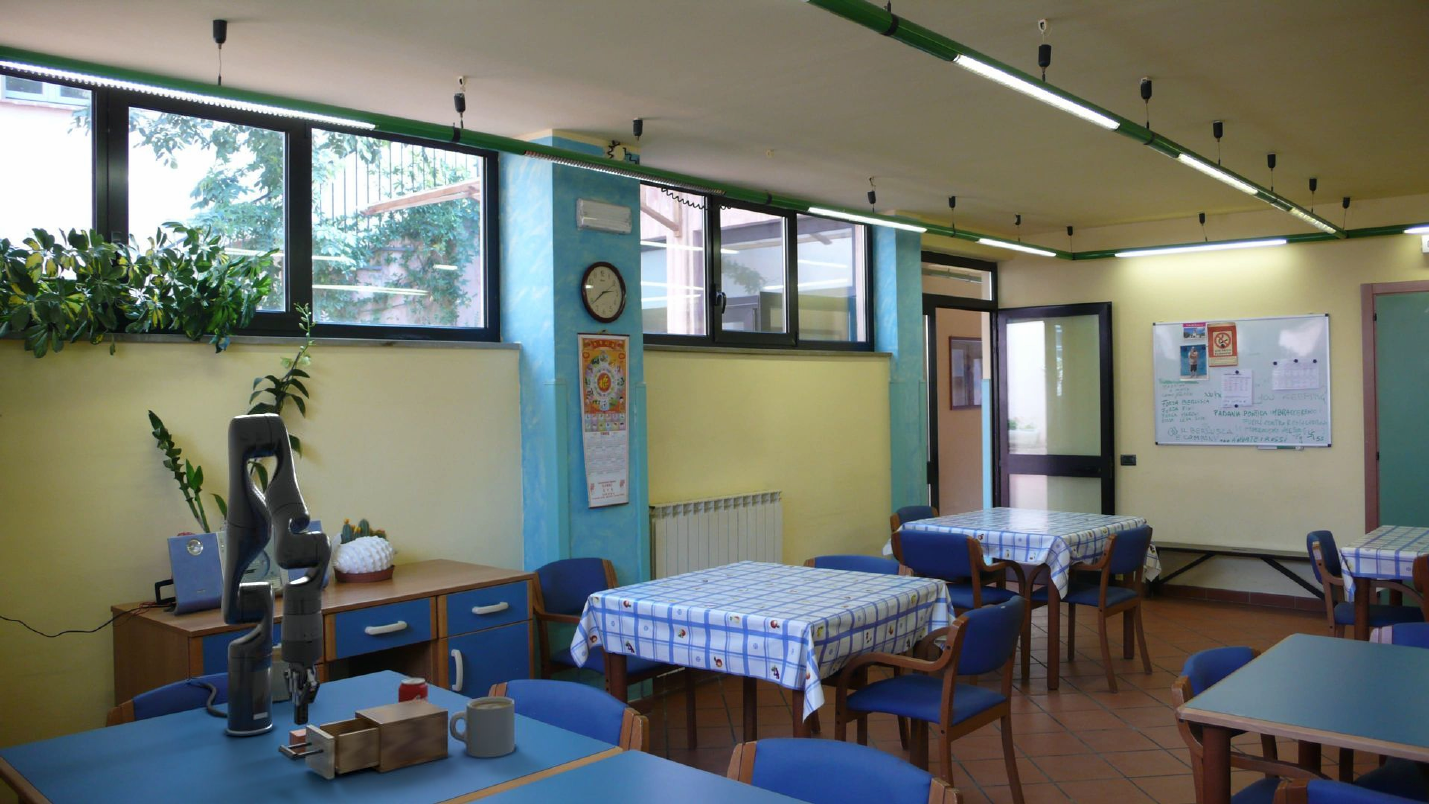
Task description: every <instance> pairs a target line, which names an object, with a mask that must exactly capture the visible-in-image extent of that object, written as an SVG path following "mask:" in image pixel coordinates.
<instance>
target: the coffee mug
mask: <svg viewBox="0 0 1429 804" xmlns="http://www.w3.org/2000/svg"><path fill="white" fill-rule="evenodd" d="M459 720H463V721H464V723H465V728H464V731H463V732H458V730H457V728H456V727H457V726H456V725H457V722H458V721H459ZM448 729H449V733H450V735H451V737H452V738H453V739H455V740H457V741H459V742H462V743H463V744H464V745H465V748H466V754H467V755H469V756H471V757H475V758H497V757H503V756H506V755H509V754H511V753H512V752H514V751H515V700H514V699H513V698H510V697H507V696H483V697H478V698H474V699H471V700H469V701H468V702H467V703H466V710H461V711H457V712H454V713H453V715H452V716H451V717H450V720H449V726H448Z"/></svg>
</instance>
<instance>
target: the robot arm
mask: <svg viewBox="0 0 1429 804" xmlns="http://www.w3.org/2000/svg"><path fill="white" fill-rule="evenodd" d="M227 453H228V454H227V455H228V456H227V457H228V495H227V496H228V497H227V511H226V525H225V526H226V527H225V567H224V568H225V569H224V577H223V586H222V595H221V604H220V605H221V607H220V609H221V610H220V611H221V618H222V620H223V622H224V624H226V625H228V626H244V625H245V626H246V625H255V624H256V627H255V628H254V629H253V630H252V631H251V632H249V633H248V634H245V635H244V636H241V637H239V638H237V639H234V640H232V641H231V642H230V643H229V644H228V648H227V713H226V712H223V711H220V710H217V709H216V708H213V707H212V702H213V700H215V697H216V694H217V688H216V687H215V686H214V685H212V684H211V683H208V682H207V683H208V684H204V683H200V682H197V684H200V685H202V686H204V687H206V688H209V689H210V690H211V691H212V692H211V694H210V696H209V698H208V699H207V701H206V709H207V711H209V712H210V713H212V714H213V715H215V716H218V717H221V718H227V719H226V720H227V721H226V722H227V723H226V726H227V727H226V734H227V735H229V736H233V737H250V736H257V735H262V734H265V733H268V732H270V731H271V730H273V701H272V683H273V648H274V617H275V604H276V602H275V600H276V595H275V588H274V586H273V584H272V583H271V582H270V581H256V582H255V581H253V582H242V580H243V578H244V575H245V573H246V572H247V570H248V569H249V567H250V566H251V565H252V564H253V562H254V561H255V560H256V559H257V558H258V557H259V555H261V553H262V552H263V551H264V549H266V547H267V546H268V545H269V543H270V541H271V539H272V537H273V559H274V562H275V564H276V565H277V566H278V567H279V568H281V569H283V570H285V571H291V570H293V571H294V570H302V569H306V571H305V573H304V575H303V576H302V577H300V578H298V579H295V580H291V581H290V582H287V583H286V584H285V585H284V586H283V590H282V619H281V623H280V624H281V627H280V630H281V631H280V632H281V633H280V648H281V659H282V661H284V662H288V663H289V670H288V671H284V679H285V683H286V687H287V691H288V695H289V699H288V700H291V702H292V705H293V724H294V725H296V726H304V725H307V724H308V723H309V705H310V704H314V703H315V700H316V697H317V696H318V692H319V689H320V687H321V680H320V679H318V680H317V679H315V678H316V669H315V664H314V663H315V662H316V661H318V660H320V659H321V658H322V657H323V637H324V635H323V631H324V630H323V629H324V628H323V627H324V626H323V625H324V623H323V622H324V621H323V614H322V602H323V601H322V598H323V597H322V595H323V587H324V582H325V579H326V574H327V571H328V567H329V565H330V562H331V558H332V553H333V545H332V540H331V538H330V537H329V535H328V534H327V533H325V532H323V531H320V530H319V531H317V530H315V531H305V530H306V529H307V528H308V527H309V526H310V523H311V514H310V511H309V509H308V506H307V504H306V503H307V502H306V500H305V498H304V495H303V493H302V491H301V487H300V484H299V480H298V476H297V470H296V465H295V460H294V454H293V449H292V445H291V441H290V435H289V431H288V428H287V425H286V422H285V421H284V419H283V417H282V416H281V415H279V414H277V413H263V414H249V415H248V414H247V415H238V416H235V417H233V418H232V419H231V420H230V422H229V424H228V430H227ZM273 457H274V458H275V462H276V464H275V468H274V471H273V473H272V476H271V478H270V479H269V481H268V483H267V487H266V490H265V493H264V492H263V491H262V490H261V488H260V487H259V486H258V485H257V483H256V482H255V480H254V479H253V477H252V476H251V473H250V472H249V468H248V466H249V465H248V463H249V461H250V460H255V459H266V458H273ZM190 679H200V678H198V677H194V676H192V677H190V678H188V679H187V680H186V682H187V681H189V680H190Z"/></svg>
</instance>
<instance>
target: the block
mask: <svg viewBox="0 0 1429 804" xmlns="http://www.w3.org/2000/svg"><path fill="white" fill-rule="evenodd" d="M288 743H289V744H288V746H292V745H297V744H302V743H306V728H300V729H295V730H291V731H289V741H288ZM292 751H294V752H295V753H297V754H300V753H305V752H306V747H301V748H296V749H292Z"/></svg>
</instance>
